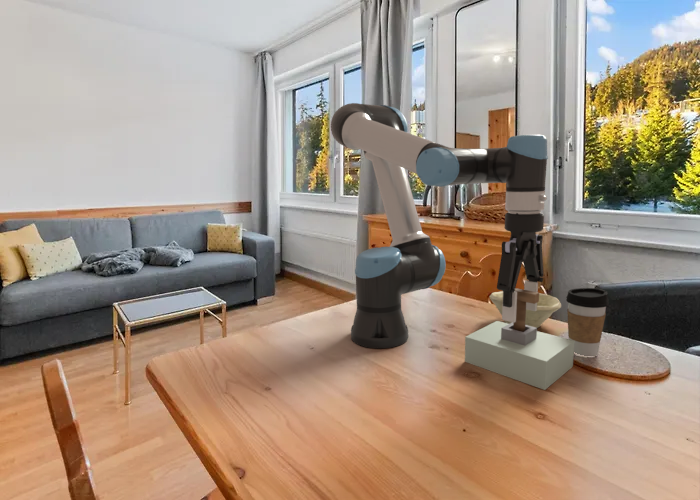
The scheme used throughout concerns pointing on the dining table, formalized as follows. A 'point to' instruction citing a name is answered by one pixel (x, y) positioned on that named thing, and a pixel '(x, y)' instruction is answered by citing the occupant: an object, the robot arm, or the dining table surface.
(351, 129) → the robot arm
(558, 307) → the bowl
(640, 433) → the dining table surface
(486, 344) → the socket box
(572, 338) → the coffee cup
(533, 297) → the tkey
